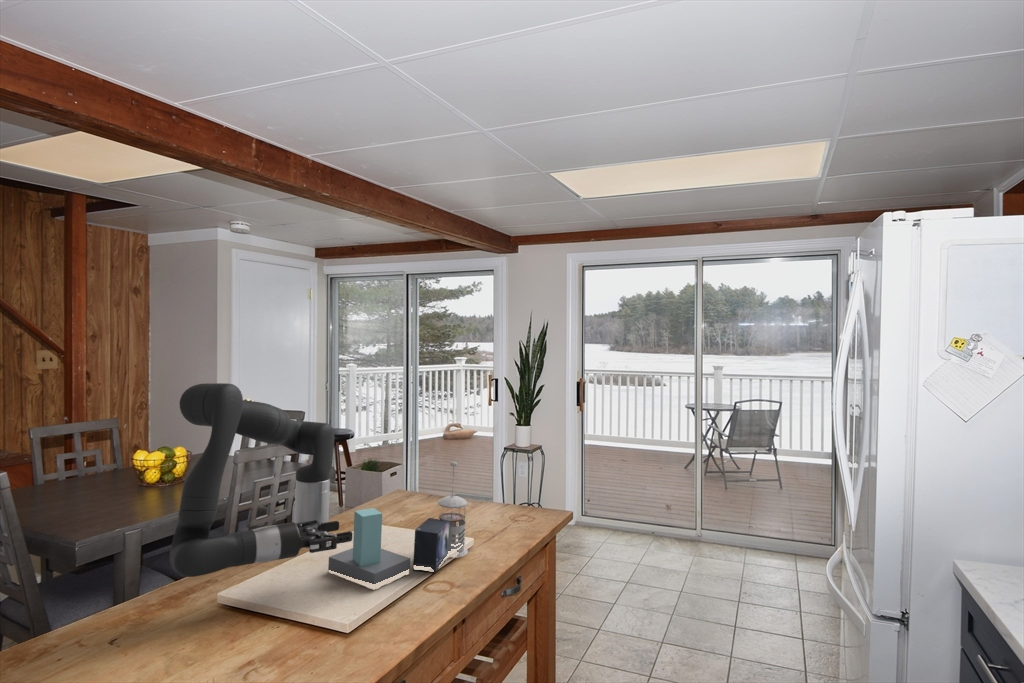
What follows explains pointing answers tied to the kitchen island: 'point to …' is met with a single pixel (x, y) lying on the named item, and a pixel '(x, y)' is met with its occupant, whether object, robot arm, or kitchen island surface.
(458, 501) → the french press
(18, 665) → the kitchen island surface
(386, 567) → the grey flat block
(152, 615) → the kitchen island surface
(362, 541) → the teal block
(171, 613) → the kitchen island surface
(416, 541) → the small box
